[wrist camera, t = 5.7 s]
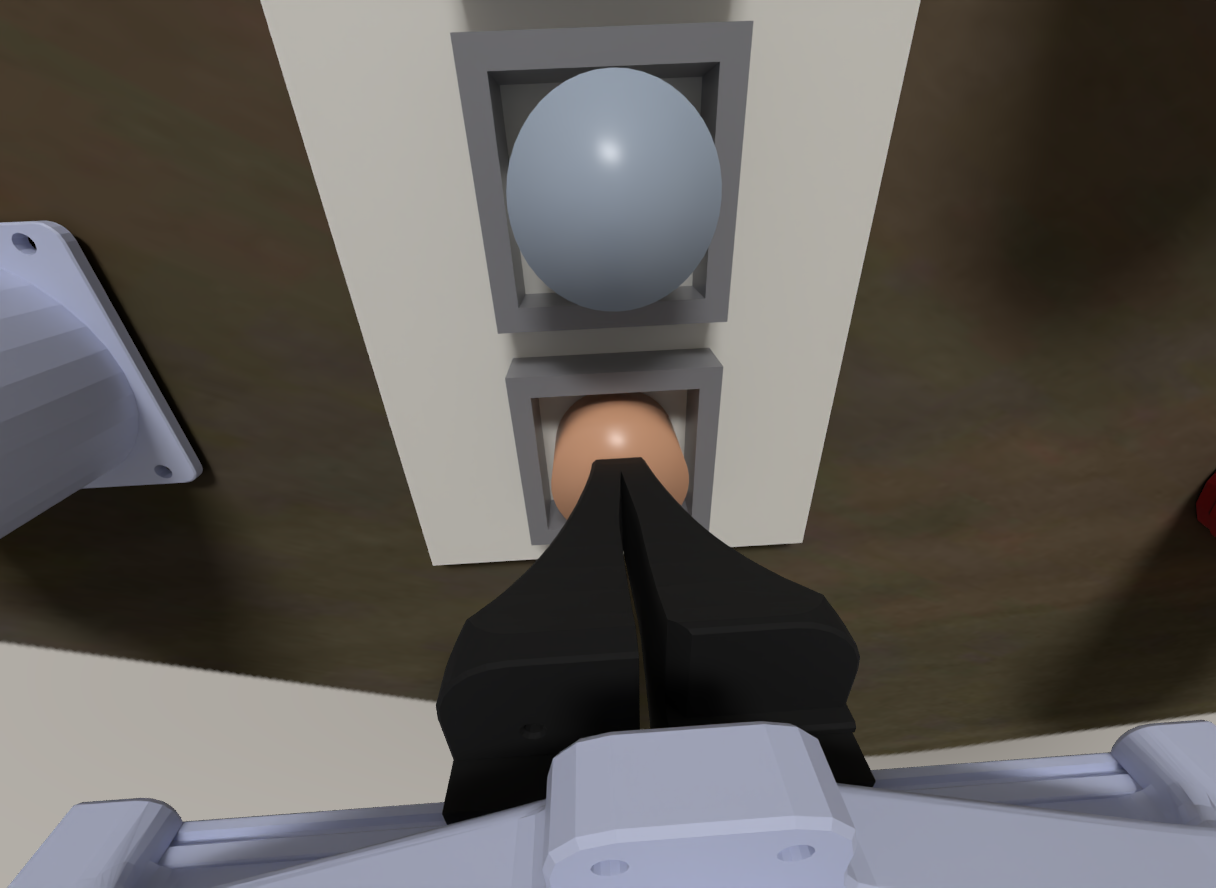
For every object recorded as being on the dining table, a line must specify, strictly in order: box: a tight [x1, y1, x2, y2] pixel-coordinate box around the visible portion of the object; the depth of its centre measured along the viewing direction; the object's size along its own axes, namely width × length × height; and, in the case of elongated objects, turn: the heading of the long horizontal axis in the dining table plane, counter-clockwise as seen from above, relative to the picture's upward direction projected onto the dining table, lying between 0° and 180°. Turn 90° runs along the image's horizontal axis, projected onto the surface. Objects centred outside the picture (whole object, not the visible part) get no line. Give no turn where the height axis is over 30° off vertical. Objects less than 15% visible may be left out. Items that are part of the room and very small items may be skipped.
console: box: [260, 0, 920, 566], centre depth 12 cm, size 14×24×3 cm, turn 2°
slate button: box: [506, 67, 722, 312], centre depth 9 cm, size 4×4×2 cm
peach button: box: [551, 392, 689, 519], centre depth 14 cm, size 4×4×2 cm
